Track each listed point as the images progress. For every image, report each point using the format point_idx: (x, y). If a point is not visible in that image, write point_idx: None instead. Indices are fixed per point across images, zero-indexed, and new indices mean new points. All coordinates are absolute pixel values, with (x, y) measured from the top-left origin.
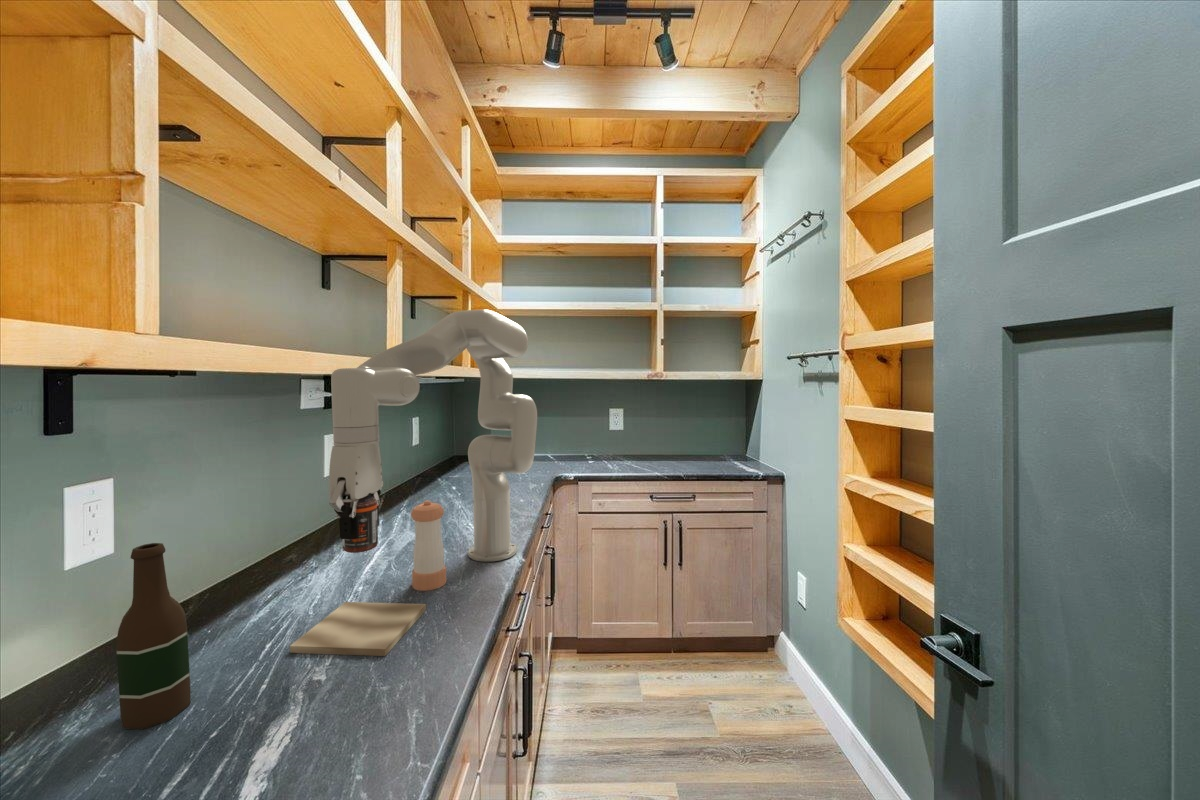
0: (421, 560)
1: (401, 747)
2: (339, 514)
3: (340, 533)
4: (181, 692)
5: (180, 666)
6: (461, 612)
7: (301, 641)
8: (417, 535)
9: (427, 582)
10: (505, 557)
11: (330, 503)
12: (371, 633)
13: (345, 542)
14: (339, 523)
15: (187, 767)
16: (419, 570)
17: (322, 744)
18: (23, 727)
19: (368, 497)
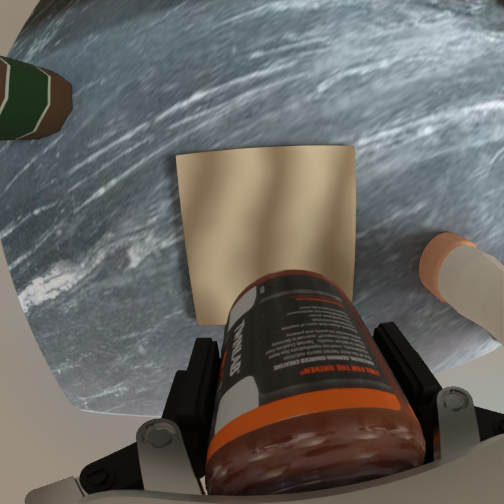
0: (453, 286)
1: (89, 389)
2: (124, 454)
3: (194, 351)
4: (36, 135)
5: (12, 135)
6: None
7: (192, 166)
8: (496, 297)
9: (426, 280)
10: (496, 339)
11: (29, 498)
12: (238, 278)
13: (226, 328)
14: (183, 384)
15: (12, 229)
16: (443, 272)
17: (63, 330)
18: (37, 11)
19: None
